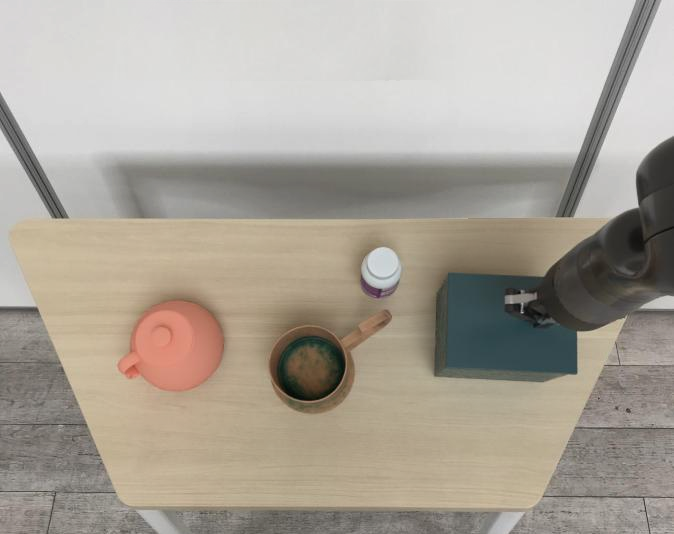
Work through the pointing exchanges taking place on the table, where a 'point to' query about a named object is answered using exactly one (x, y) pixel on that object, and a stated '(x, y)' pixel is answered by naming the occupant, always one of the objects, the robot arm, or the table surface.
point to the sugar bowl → (174, 346)
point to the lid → (501, 329)
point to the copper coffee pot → (317, 364)
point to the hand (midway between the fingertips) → (538, 319)
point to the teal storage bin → (466, 373)
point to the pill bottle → (380, 273)
